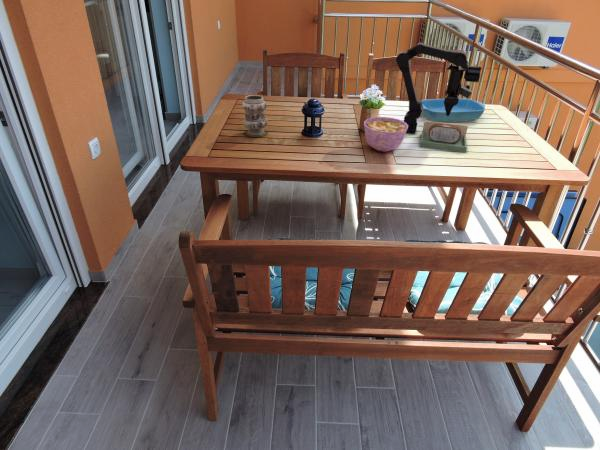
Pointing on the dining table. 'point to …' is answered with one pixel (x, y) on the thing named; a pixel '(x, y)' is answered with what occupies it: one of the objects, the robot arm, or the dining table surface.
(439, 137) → the tin
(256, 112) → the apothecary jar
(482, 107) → the casserole dish
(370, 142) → the bowl of food
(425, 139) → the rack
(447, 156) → the dining table surface
